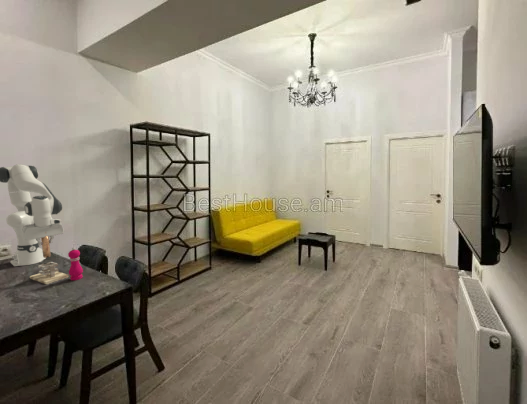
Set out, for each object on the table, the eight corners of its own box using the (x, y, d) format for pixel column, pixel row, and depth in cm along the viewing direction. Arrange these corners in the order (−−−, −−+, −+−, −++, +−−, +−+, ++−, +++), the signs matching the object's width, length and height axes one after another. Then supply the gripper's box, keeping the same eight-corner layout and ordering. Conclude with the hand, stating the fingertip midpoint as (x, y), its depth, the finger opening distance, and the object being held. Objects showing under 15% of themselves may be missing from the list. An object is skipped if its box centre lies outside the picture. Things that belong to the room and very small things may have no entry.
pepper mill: (76, 281, 162) (73, 249, 160) (66, 280, 163) (63, 248, 161) (86, 276, 169) (83, 246, 167) (76, 275, 170) (73, 245, 168)
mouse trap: (30, 278, 167) (28, 264, 166) (52, 271, 178) (50, 258, 177) (46, 284, 158) (44, 269, 157) (68, 277, 169) (67, 263, 167)
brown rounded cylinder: (45, 257, 164) (42, 232, 162) (42, 257, 165) (39, 232, 164) (51, 256, 167) (49, 231, 165) (48, 255, 169) (46, 230, 167)
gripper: (24, 225, 153) (27, 249, 155) (64, 219, 171) (66, 240, 173) (19, 225, 156) (22, 247, 157) (58, 219, 174) (61, 239, 175)
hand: (45, 244), depth 165 cm, fingers closed on brown rounded cylinder, 4 cm apart
